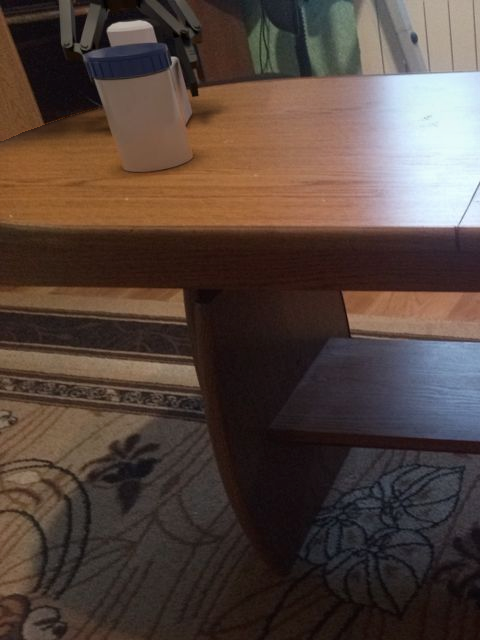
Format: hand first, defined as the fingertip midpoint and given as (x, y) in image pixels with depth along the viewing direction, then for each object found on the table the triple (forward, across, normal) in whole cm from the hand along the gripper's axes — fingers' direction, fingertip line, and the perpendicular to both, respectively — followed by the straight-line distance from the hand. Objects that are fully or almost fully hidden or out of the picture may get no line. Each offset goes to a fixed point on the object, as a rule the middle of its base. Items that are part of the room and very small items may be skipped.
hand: (154, 96), depth 87 cm
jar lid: (+5, +2, +15) cm, 16 cm away
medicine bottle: (+1, 0, -5) cm, 5 cm away
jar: (+13, +2, +7) cm, 15 cm away
